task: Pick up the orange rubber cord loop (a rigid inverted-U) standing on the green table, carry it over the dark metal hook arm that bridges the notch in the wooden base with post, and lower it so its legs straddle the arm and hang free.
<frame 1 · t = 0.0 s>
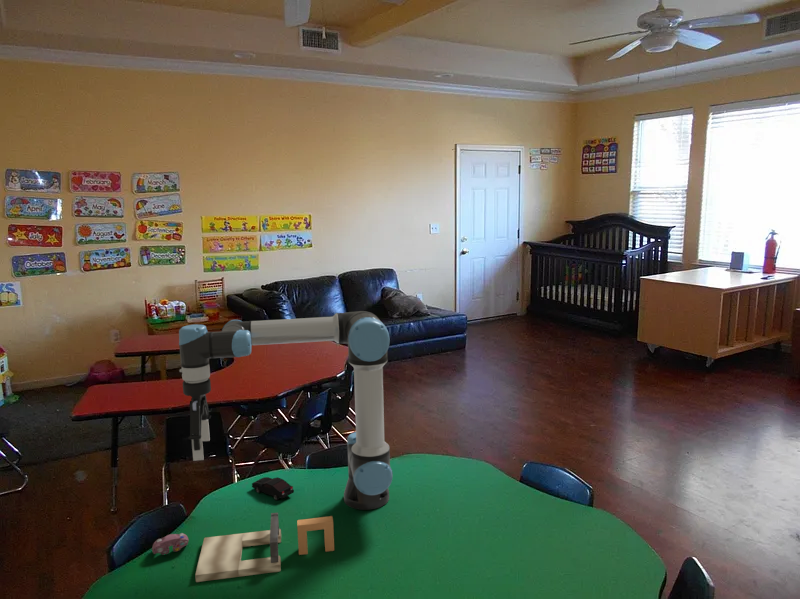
hand: (201, 450, 172), 28 cm above the table, fingers open, 13 cm apart
video game controller: (171, 552, 171), on the table
wooden base with post: (241, 557, 167), on the table
bight: (316, 549, 170), on the table
toy car: (272, 494, 204), on the table
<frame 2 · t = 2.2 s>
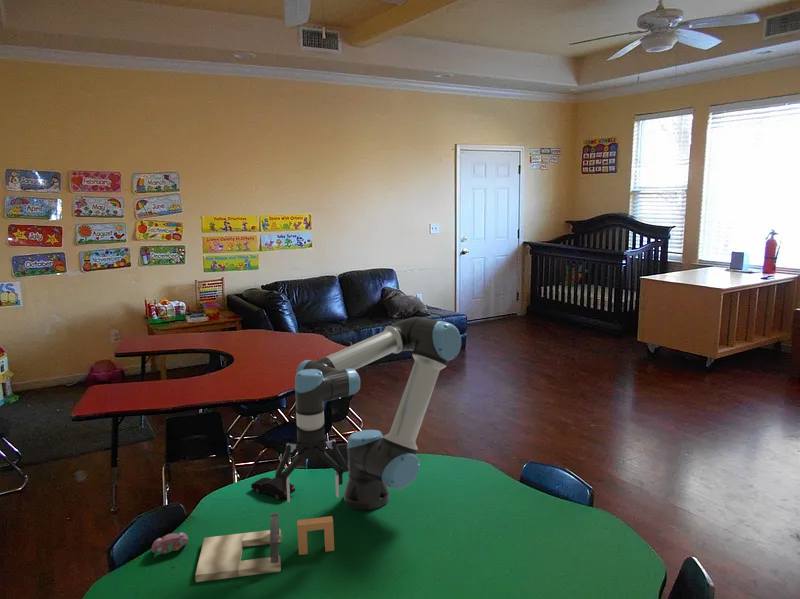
hand: (313, 497, 167), 16 cm above the table, fingers open, 13 cm apart
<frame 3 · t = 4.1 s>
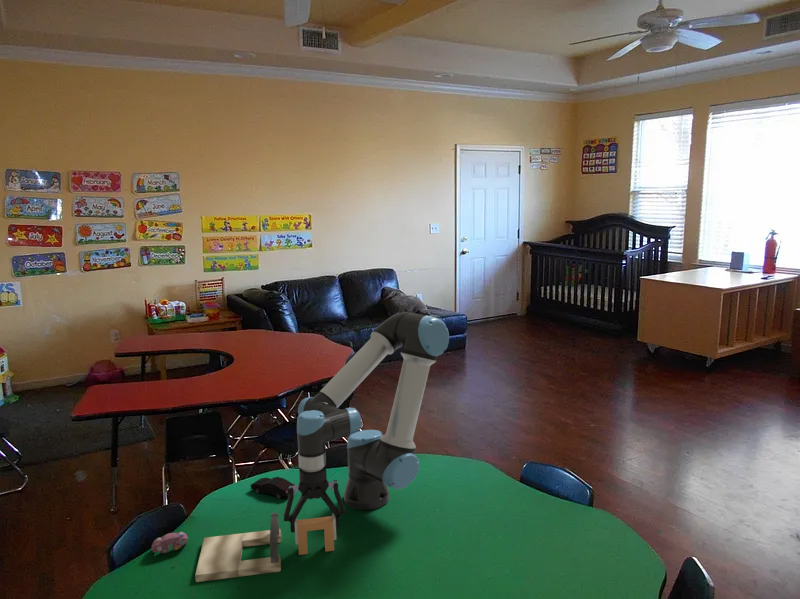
hand: (315, 539, 170), 3 cm above the table, fingers closed on bight, 10 cm apart
bight: (316, 549, 170), on the table, touching gripper
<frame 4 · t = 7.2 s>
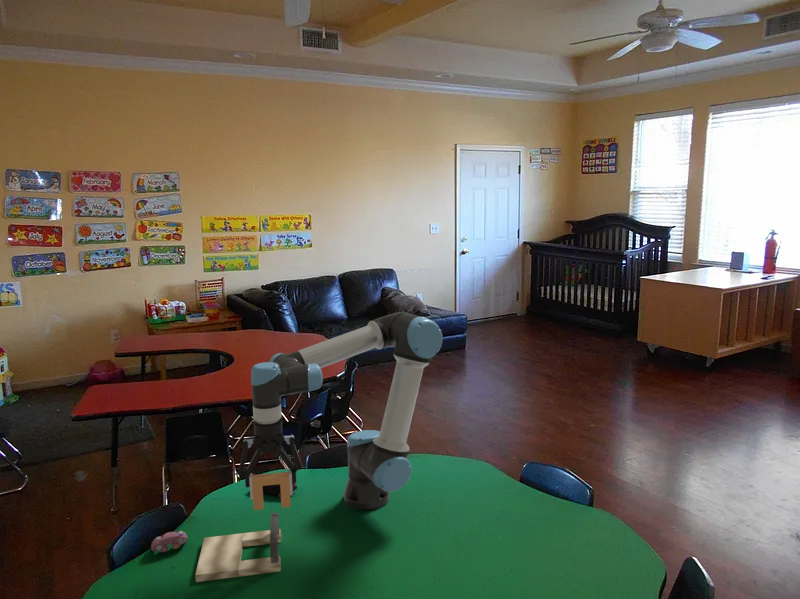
hand: (271, 495, 166), 18 cm above the table, fingers closed on bight, 10 cm apart
bight: (272, 505, 167), point 14 cm above the table, touching gripper
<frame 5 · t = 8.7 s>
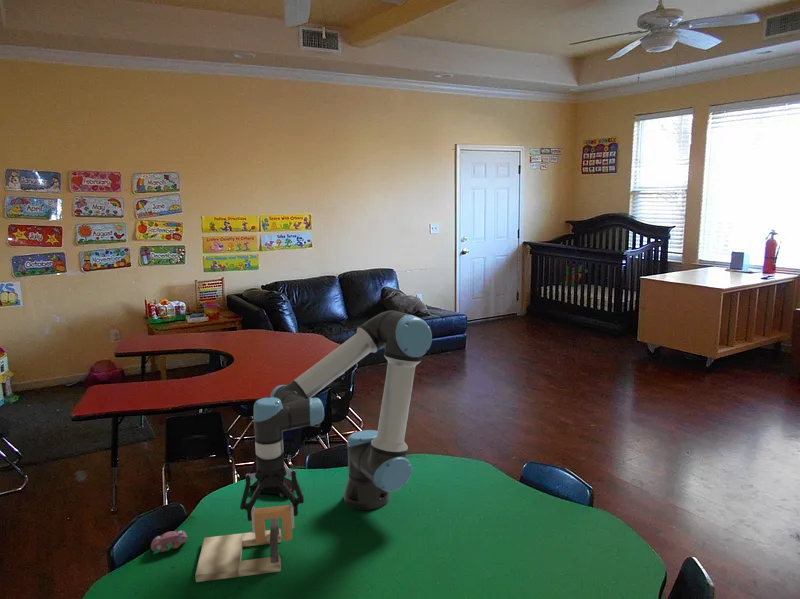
hand: (273, 528, 168), 8 cm above the table, fingers closed on bight, 10 cm apart
bight: (274, 538, 168), point 4 cm above the table, touching gripper
when the fingers open (6 cm above the table, at t = 10.1 s): bight drops 1 cm, resting on wooden base with post.
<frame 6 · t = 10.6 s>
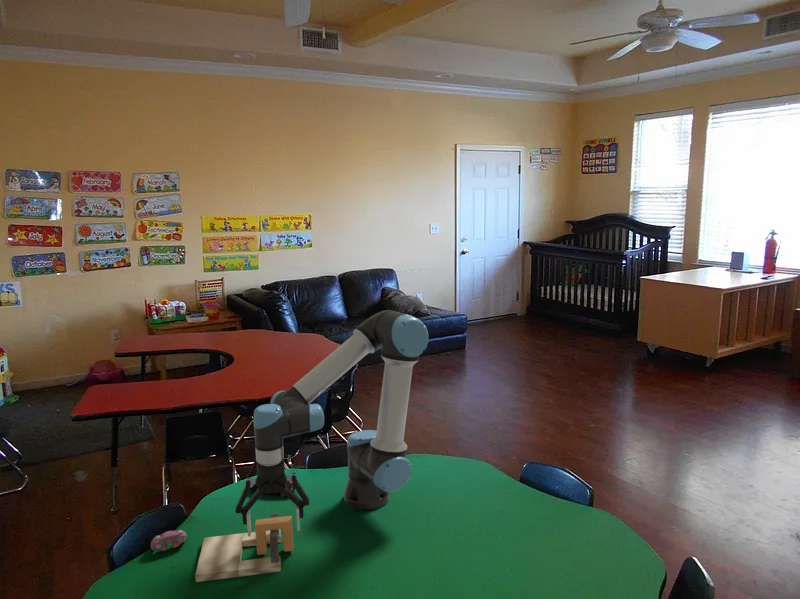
hand: (274, 531, 168), 7 cm above the table, fingers open, 13 cm apart
bight: (275, 549, 169), point 1 cm above the table, touching wooden base with post
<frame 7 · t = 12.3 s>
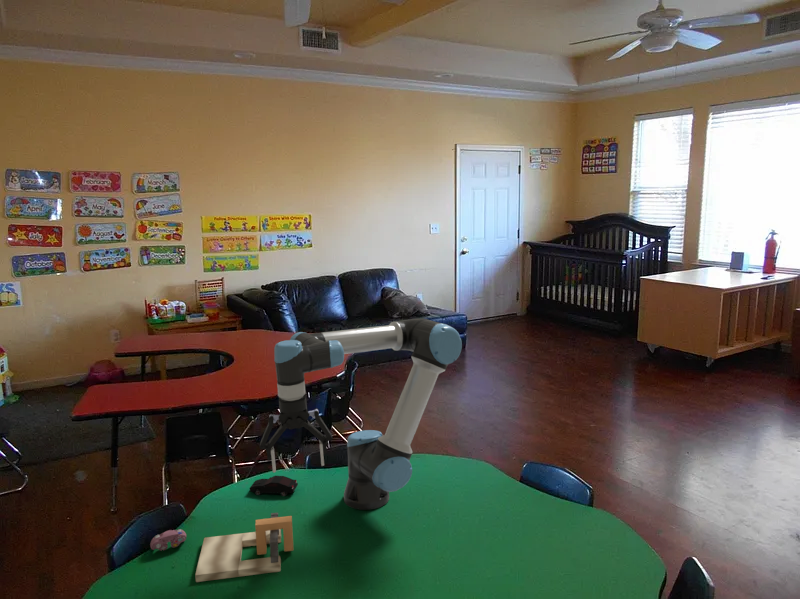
hand: (298, 467, 169), 24 cm above the table, fingers open, 13 cm apart
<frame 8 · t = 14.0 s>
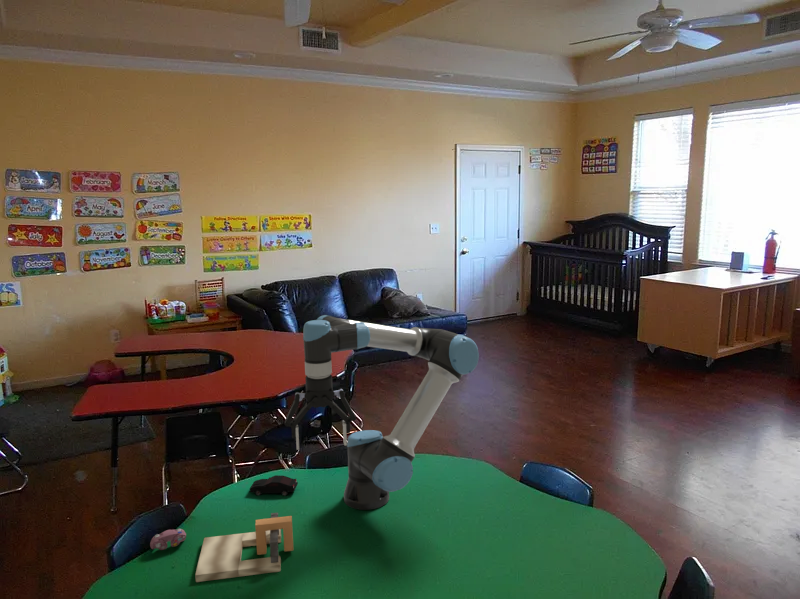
hand: (321, 445, 172), 29 cm above the table, fingers open, 13 cm apart
at the end: bight inside the target area on the wooden base with post (0.0 cm from its centre), point 1.0 cm above the wooden base with post's base; bight tilted 0°; bight touching wooden base with post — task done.
